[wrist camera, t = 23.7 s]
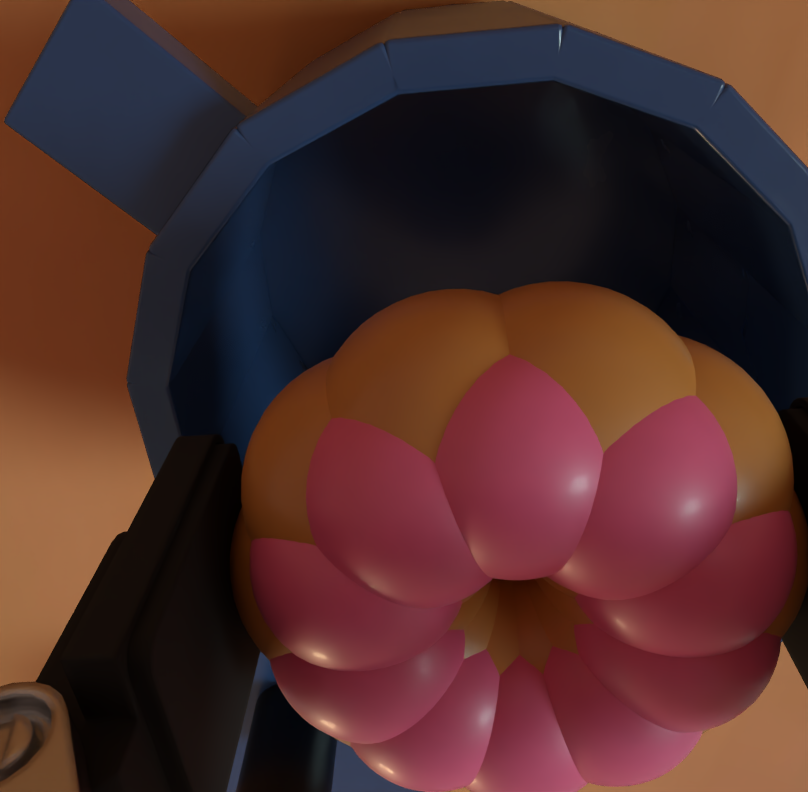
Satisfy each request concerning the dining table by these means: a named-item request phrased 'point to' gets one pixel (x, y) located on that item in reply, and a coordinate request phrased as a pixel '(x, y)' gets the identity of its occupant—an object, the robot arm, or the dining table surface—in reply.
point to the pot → (416, 194)
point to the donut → (520, 541)
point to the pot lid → (293, 749)
